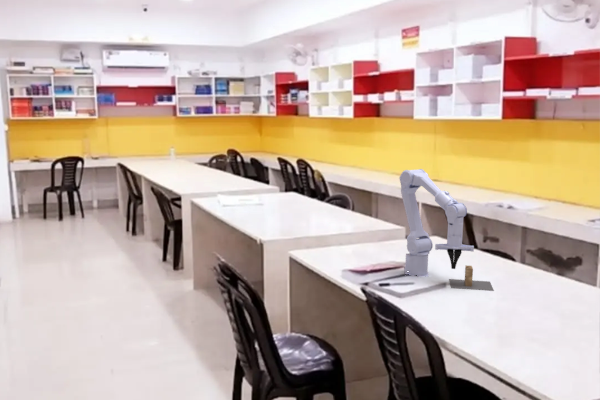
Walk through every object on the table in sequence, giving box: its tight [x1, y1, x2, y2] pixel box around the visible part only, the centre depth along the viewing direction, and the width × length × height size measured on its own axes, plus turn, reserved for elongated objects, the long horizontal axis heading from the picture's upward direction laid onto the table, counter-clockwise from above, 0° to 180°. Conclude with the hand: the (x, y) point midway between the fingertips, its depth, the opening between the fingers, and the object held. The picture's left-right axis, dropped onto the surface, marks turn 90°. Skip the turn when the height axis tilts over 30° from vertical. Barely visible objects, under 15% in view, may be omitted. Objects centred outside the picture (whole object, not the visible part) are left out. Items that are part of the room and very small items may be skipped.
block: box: [464, 265, 474, 287], centre depth 238 cm, size 2×5×7 cm, turn 169°
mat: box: [448, 278, 495, 292], centre depth 238 cm, size 16×13×1 cm
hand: (453, 268), depth 239 cm, fingers closed
